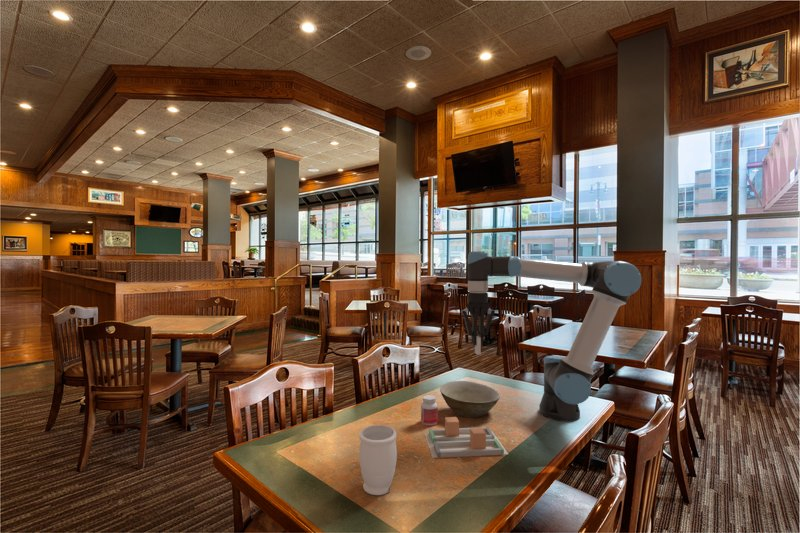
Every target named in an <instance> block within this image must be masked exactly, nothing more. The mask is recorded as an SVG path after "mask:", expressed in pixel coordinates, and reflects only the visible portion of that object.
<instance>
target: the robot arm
mask: <svg viewBox="0 0 800 533" xmlns="http://www.w3.org/2000/svg"><path fill="white" fill-rule="evenodd" d="M467 256H468V257H467V291H468V293H467V304H466V308H464V309H461V310H460V313H461V315H462V317H463V319H464V323H465V324H464V326H465V329H466V331H467V332H466V334H467V335H468V336H470V337H472V338H471V339H472V345H473V346H474V354H476V355H477V356H479V355H480V356H481V355H482V352H481V350H482V346H483V345H484V337H486V336H488V335H489V333H490V329H491V324H492V320H493V316H494V315H495V313H496V311H495V310H494V309H491V307H490V306H489V293H488V291H489V277H510V278H513V277H516V278H517V277H520V278H529V279H537V280H547V281H557V282H565V283H574V284H579V285H580V286H581V287H589V288H592V290H591V292H592V294H593V299H592V301H591V303H590V305H589V307H588V309H587V312H586V313H585V317H584V319H583V321H582V323H581V325H580V327H579V330H578V332H577V334H576V336H575V339H574V341H573V342H572V345H571V347H570V350H569V352H568V354H567V355H566V356H563V355H547V356H545V357H544V361H543V395H542V398H541V401H540V403H539V407H538V408H539V409H538V410H539V413H540V414H541V415H542V416H543V417H546V418H548V419H551V420H554V421H561V422H573V421H578V420H579V419H580V418H581V410H580V408H579V404H582V403H585V401H587V400H588V399H589V397H590V396H591V393H592V392H591V391H592V389H591V388H592V387H591V381H592V378H593V376H594V374H595V373H594V371H593V368H592V367H593V365H594V362H595V360H596V358H597V356H598V354H599V352H600V349H601V348H602V344H603V343H604V341H605V339H606V336H607V334H608V332H609V330H610V327H611V326H612V323H613V321H614V319H615V317H616V315H617V312H618V310H619V308H620V307H621V306H623V305H624V306H625V305H627V303H628V300H629V299H630V296H631V295H633V294H635V293H636V292H638V291H639V289H640V287H641V285H642V274H641V273H640V270H639V269H638V268H637V267H636V265H634V264H631V263H630V262H627V261H623V260H617V261H616V260H615V261H613V260H612V261H611V260H609V261H608V260H607V261H605V260H604V261H593V262H592V261H582V262H581V263H575V262H564V261H552V260H540V259H531V258H521V257H520V256H513V255H511V256H509V255H508V256H505V255H504V256H501V255H500V256H490V255H489V253H488V251H479V250H478V251H470V252H469V253H468V255H467ZM468 314H470V315H471V322H470V319H469V316H468ZM486 314H487V316H486V319H485V315H486ZM484 319H485V322H484Z"/></svg>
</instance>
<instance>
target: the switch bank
mask: <svg viewBox="0 0 800 533" xmlns="http://www.w3.org/2000/svg"><path fill="white" fill-rule="evenodd" d="M470 428H471V427H461V428H460V427H459V436H455V437H446V436H445V428H436V429H435V428H434V429H432V428H431V429H428V433H425V434H424V435H425V438H426V441H427V445H428V447H429V449H430V450H429V451H430V454H431V457H432V459H435V458H458V457H478V456H479V457H481V456H499V455H500V456H501V455H509V453H508V451H507V450H506V449H505V447H504V446H503V444H502V443H501V441H500V440H499V439H498V437H497V436H496V434H495V433H494V431H493V430H491V429H490V428H489V426H485V427H483V426H482V427H481V426H480V427H477V428H483V430H484V431H485V433H486V449H471V447H470Z"/></svg>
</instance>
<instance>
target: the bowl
mask: <svg viewBox="0 0 800 533" xmlns="http://www.w3.org/2000/svg"><path fill="white" fill-rule="evenodd" d="M439 391H440V394H441V396H442V399H443V400H444V402H445V403H446V405H447V406H448V408H449V409H450V410H451V411H452V412H453V413H454V414H455V415H457V416H460V417H466V418H478V417H479V418H480V417H482V416H484V415H486V414H487V413H489V412H490V411H491V410H492V409H493V408H494V407H495V405H496V404H497V403H498V402H499V400H500V399H501V398H500V396H501V395H500V392H498V391H497V390H496V389H495V388H493V387H491V386H487V385H485V384H483V383H478V382H475V381H469V380H456V381H450V382H446V383H443V384H442V385H441V386H440V388H439Z"/></svg>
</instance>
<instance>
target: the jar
mask: <svg viewBox="0 0 800 533" xmlns="http://www.w3.org/2000/svg"><path fill="white" fill-rule="evenodd" d="M358 433H359V435H358V436H359V440H360V442H359V449H358V450H359V451H358V457H359V465H360V473H361V478H362V479H363V485H362V489H363V490H364V492H366V494H368V495H369V494H370V495H372V496H383V495H386V494H388V493H390V491H391V487H390V486H391V485H392V481H393V479H394V477H395V472H396V465H397V458H398V451H397V450H398V448H397V447H398V446H397V443H396V439H397V436H398V435H397V430H396V429H395V428H393V427H392V426H389V425H386V424H385V425H384V424H374V425H368V426H366V427H364V428H362V429H361V430H360V431H359V432H358Z"/></svg>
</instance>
